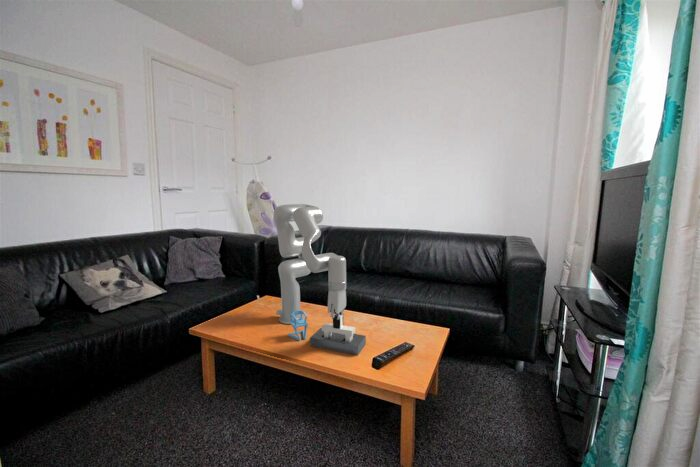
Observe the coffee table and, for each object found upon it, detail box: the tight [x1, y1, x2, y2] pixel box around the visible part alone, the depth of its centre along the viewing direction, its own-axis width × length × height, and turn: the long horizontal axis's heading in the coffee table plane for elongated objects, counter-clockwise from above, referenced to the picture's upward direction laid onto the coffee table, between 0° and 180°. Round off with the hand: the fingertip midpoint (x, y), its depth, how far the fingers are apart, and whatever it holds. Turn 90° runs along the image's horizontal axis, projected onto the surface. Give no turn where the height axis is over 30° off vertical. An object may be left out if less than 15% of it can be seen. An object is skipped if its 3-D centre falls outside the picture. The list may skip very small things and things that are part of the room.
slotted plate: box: [309, 327, 367, 356], centre depth 139 cm, size 22×10×4 cm, turn 69°
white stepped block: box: [321, 314, 356, 342], centre depth 138 cm, size 14×4×10 cm, turn 69°
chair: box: [287, 310, 309, 342], centre depth 147 cm, size 8×8×12 cm
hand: (338, 326), depth 138 cm, fingers closed on white stepped block, 2 cm apart
